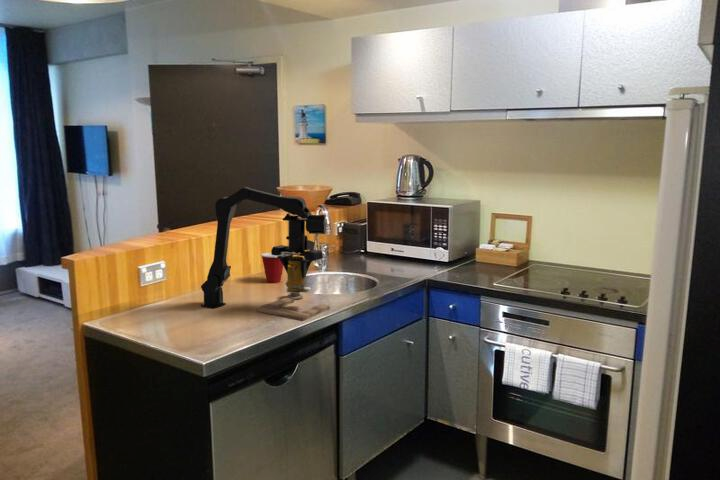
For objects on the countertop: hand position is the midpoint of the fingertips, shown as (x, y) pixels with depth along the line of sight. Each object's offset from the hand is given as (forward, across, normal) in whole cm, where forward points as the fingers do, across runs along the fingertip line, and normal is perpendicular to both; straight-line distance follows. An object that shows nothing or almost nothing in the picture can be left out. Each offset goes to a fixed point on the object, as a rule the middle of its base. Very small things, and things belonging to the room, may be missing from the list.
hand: (296, 276), depth 207 cm
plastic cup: (+12, +32, -27) cm, 44 cm away
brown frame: (+12, 0, +2) cm, 12 cm away
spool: (+12, +9, -11) cm, 18 cm away
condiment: (+5, -1, 0) cm, 5 cm away
